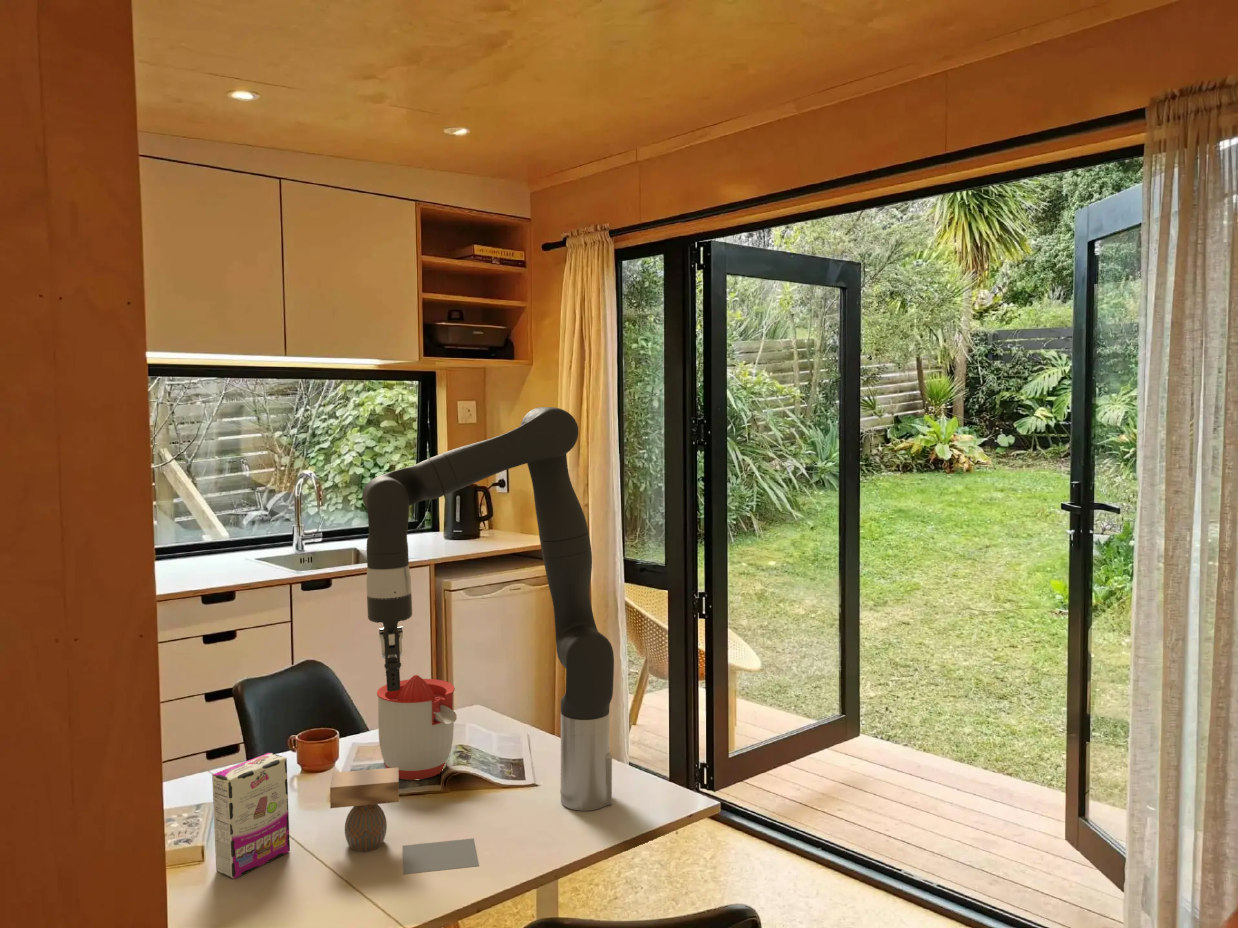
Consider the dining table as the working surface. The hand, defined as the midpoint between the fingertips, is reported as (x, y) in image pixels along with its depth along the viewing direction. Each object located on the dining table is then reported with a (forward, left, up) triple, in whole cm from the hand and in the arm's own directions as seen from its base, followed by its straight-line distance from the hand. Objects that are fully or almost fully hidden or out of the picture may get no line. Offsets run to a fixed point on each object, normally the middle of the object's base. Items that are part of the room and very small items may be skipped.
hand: (393, 683), depth 166 cm
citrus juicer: (-5, -27, -27) cm, 38 cm away
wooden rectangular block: (+5, +5, -18) cm, 19 cm away
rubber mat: (-7, +12, -27) cm, 30 cm away
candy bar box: (+23, +6, -27) cm, 36 cm away
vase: (+5, +5, -27) cm, 28 cm away
